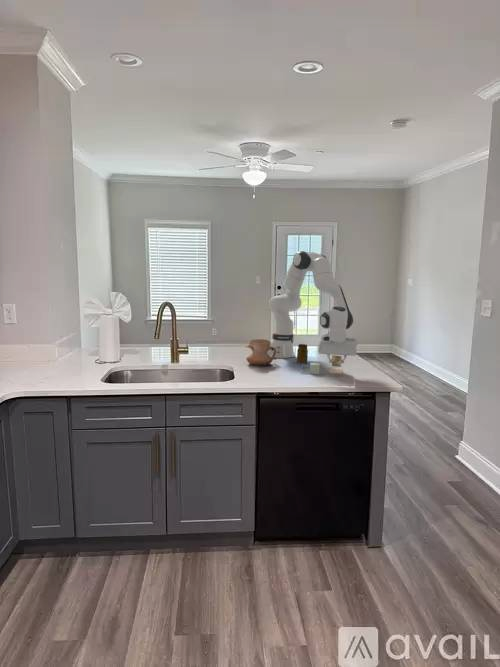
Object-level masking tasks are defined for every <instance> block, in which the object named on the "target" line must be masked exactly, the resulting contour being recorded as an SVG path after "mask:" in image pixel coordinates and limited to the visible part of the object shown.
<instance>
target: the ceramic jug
mask: <svg viewBox="0 0 500 667" xmlns="http://www.w3.org/2000/svg"><path fill="white" fill-rule="evenodd" d="M270 343H271V339H264V338H257V339H256V338H255V339H254V338H253V339H249V344H246V345H245V348H246V349H247V348H249V349H250V350H251V351H252V353H251V354H249V355H248V356H247V357H246V361H247V363H248V364H250V365H253V366H256V367H257V366H259V367H260V366H261V367H263V366H267V365H270V364H271V363H272V362H273V361H274V359H275V358H274V356H275V355H276V348H275V347H274V346H270ZM272 348H273V349H274V354H273V356H272V357H271V356H269V355H268V354H267V352H268V350H270V349H272Z"/></svg>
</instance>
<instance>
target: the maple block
mask: <svg viewBox="0 0 500 667" xmlns="http://www.w3.org/2000/svg"><path fill="white" fill-rule="evenodd" d="M342 356H343V355H332V354H331V359H332V363H331V367H333V368H334V367H335V368H342V363H341V361H342V359H343V358H342Z"/></svg>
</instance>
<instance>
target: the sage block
mask: <svg viewBox="0 0 500 667" xmlns="http://www.w3.org/2000/svg"><path fill="white" fill-rule="evenodd" d="M309 364H310V365H309V368H310V374H309V375H311V374H319V372H320V368H321V367H320V366H321V363H320V362H310V363H309Z"/></svg>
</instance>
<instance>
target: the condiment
mask: <svg viewBox="0 0 500 667" xmlns="http://www.w3.org/2000/svg"><path fill="white" fill-rule="evenodd" d="M296 352H297V353H296V354H297V355H296V358H297V359H296V364H298V365H307V364H308V356H309V355H308V353H309V349H308V344H305V343H299V344H298V345H297V351H296Z"/></svg>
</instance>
